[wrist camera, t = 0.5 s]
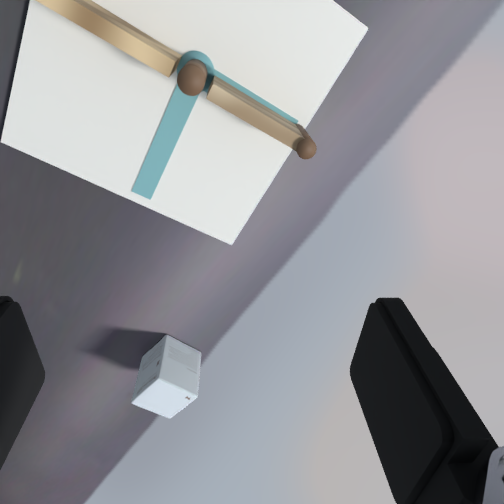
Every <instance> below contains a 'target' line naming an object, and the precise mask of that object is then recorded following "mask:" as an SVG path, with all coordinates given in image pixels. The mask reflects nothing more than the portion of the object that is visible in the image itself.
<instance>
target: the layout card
mask: <svg viewBox="0 0 504 504" xmlns="http://www.w3.org/2000/svg"><path fill="white" fill-rule="evenodd" d="M92 1H93V2H95V3H97V4H98V5H100V6H101V7H103V8H105V9H106V10H108V11H110V12H111V13H113V14H115V15H116V16H118V17H119V18H121V19H123V20H124V21H126V22H128V23H129V24H131V25H133V26H134V27H136V28H138V29H139V30H141V31H142V32H144V33H146V34H147V35H149V36H151V37H152V38H154V39H156V40H157V41H159V42H160V43H162V44H164V45H165V46H167V47H169V48H170V49H172V50H174V51H175V52H177V53H179V54H180V55H182V57H181V59H180V62H179V64H178V67H177V69H176V70H175V72H174V73H173V74H172V75H171V76H170V77H169V78H168V77H167V76H165V75H163V74H162V73H160V72H158V71H156V70H155V69H153V68H151V67H149V66H148V65H146V64H144V63H143V62H141V61H139V60H137V59H136V58H134V57H132V56H131V55H129V54H127V53H125V52H124V51H122V50H120V49H118V48H117V47H115V46H113V45H112V44H110V43H108V42H106V41H105V40H103V39H101V38H100V37H98V36H96V35H94V34H93V33H91V32H89V31H87V30H86V29H84V28H82V27H81V26H79V25H77V24H75V23H74V22H72V21H70V20H69V19H67V18H65V17H63V16H62V15H60V14H58V13H56V12H55V11H53V10H51V9H50V8H48V7H46V6H44V5H43V4H41V3H39V2H38V1H36V0H30V3H29V8H28V13H27V17H26V22H25V27H24V32H23V37H22V42H21V46H20V51H19V56H18V61H17V66H16V70H15V75H14V80H13V85H12V90H11V95H10V99H9V104H8V109H7V114H6V119H5V123H4V128H3V133H2V138H1V142H2V143H4V144H7V145H9V146H11V147H13V148H16V149H18V150H20V151H22V152H24V153H27V154H29V155H31V156H33V157H36V158H38V159H40V160H42V161H45V162H47V163H49V164H51V165H54V166H56V167H58V168H60V169H62V170H65V171H67V172H69V173H71V174H74V175H76V176H78V177H80V178H83V179H85V180H87V181H89V182H92V183H94V184H96V185H98V186H101V187H103V188H105V189H107V190H109V191H112V192H114V193H116V194H118V195H121V196H123V197H125V198H127V199H130V200H132V201H134V202H136V203H139V204H141V205H143V206H145V207H147V208H150V209H152V210H154V211H156V212H159V213H161V214H163V215H165V216H168V217H170V218H172V219H174V220H177V221H179V222H181V223H183V224H186V225H188V226H190V227H192V228H194V229H197V230H199V231H201V232H203V233H206V234H208V235H210V236H212V237H215V238H217V239H219V240H221V241H224V242H226V243H228V244H230V245H232V244H233V242H234V241H235V239H236V238H237V236H238V234H239V233H240V231H241V230H242V228H243V227H244V225H245V223H246V222H247V220H248V219H249V217H250V215H251V214H252V212H253V211H254V209H255V208H256V206H257V204H258V203H259V201H260V200H261V198H262V196H263V195H264V193H265V192H266V190H267V189H268V187H269V185H270V184H271V182H272V181H273V179H274V177H275V176H276V174H277V173H278V171H279V170H280V168H281V166H282V165H283V163H284V162H285V160H286V158H287V157H288V155H289V154H290V152H291V151H292V148H290V147H288V146H286V145H285V144H283V143H281V142H280V141H278V140H276V139H274V138H273V137H271V136H269V135H268V134H266V133H264V132H262V131H261V130H259V129H257V128H255V127H254V126H252V125H250V124H249V123H247V122H245V121H243V120H242V119H240V118H238V117H237V116H235V115H233V114H231V113H230V112H228V111H226V110H224V109H223V108H221V107H219V106H218V105H216V104H214V103H212V102H211V101H209V100H207V99H206V97H207V93H208V88H209V86H210V84H211V82H212V80H213V78H214V76H217V77H218V78H220V79H222V80H223V81H225V82H227V83H228V84H230V85H232V86H233V87H235V88H237V89H238V90H240V91H241V92H243V93H245V94H246V95H248V96H250V97H251V98H253V99H255V100H256V101H258V102H259V103H261V104H263V105H264V106H266V107H268V108H269V109H271V110H273V111H274V112H276V113H278V114H279V115H281V116H282V117H284V118H286V119H287V120H289V121H291V122H292V123H294V124H300V125H301V126H303V128H304V129H305V128H306V127H307V125H308V124H309V122H310V120H311V119H312V117H313V116H314V114H315V113H316V111H317V109H318V108H319V106H320V105H321V103H322V101H323V100H324V98H325V97H326V95H327V94H328V92H329V90H330V89H331V87H332V86H333V84H334V82H335V81H336V79H337V78H338V76H339V75H340V73H341V71H342V70H343V68H344V67H345V65H346V63H347V62H348V60H349V59H350V57H351V56H352V54H353V52H354V51H355V49H356V48H357V46H358V44H359V43H360V41H361V40H362V38H363V37H364V35H365V33H366V32H367V30H368V29H369V28H368V27H366V26H365V25H364V24H362V23H361V22H360V21H359V20H357V19H356V18H355V17H353V16H352V15H351V14H350V13H348V12H347V11H346V10H344V9H343V8H342V7H341V6H339V5H338V4H337V3H335V2H334V1H333V0H92ZM191 59H198V60H201V61H202V62H203V63H204V64H205V65H206V68H207V72H208V74H207V79H206V82H205V85H204V88H203V90H202V91H201V93H199V94H198V95H196V96H188V95H186V94H184V93H183V92H182V91H181V90H180V89H179V87H178V84H177V76H178V73H179V71H180V70H181V69H182V68H183V67H184V65H185V64H186V63H187V62H188V61H189V60H191Z"/></svg>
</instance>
